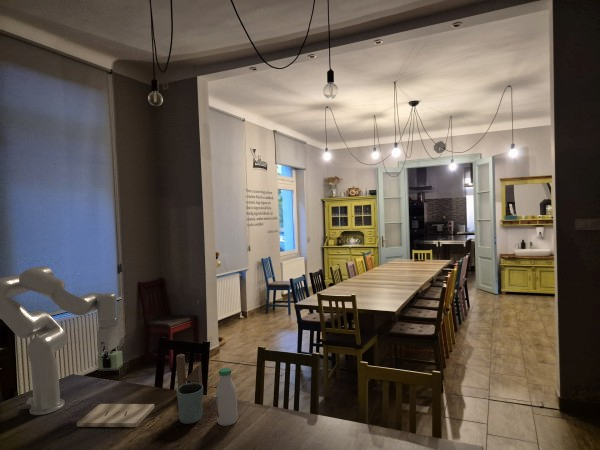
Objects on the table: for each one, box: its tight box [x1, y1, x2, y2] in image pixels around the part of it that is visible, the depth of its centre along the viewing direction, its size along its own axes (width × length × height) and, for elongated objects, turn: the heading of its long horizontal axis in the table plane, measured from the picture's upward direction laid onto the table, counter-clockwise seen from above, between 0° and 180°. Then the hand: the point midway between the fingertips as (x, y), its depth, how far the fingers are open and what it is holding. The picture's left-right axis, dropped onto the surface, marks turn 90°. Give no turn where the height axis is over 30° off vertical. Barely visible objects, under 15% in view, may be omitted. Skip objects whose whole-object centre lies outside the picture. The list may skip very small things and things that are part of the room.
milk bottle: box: [215, 367, 239, 427], centre depth 154 cm, size 8×8×20 cm
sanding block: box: [97, 350, 124, 372], centre depth 171 cm, size 8×5×6 cm, turn 87°
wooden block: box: [175, 353, 203, 393], centre depth 177 cm, size 4×11×18 cm, turn 81°
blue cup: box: [176, 382, 204, 425], centre depth 158 cm, size 10×10×12 cm
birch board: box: [76, 403, 155, 428], centre depth 162 cm, size 24×15×2 cm, turn 84°
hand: (110, 364), depth 171 cm, fingers closed on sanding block, 5 cm apart
